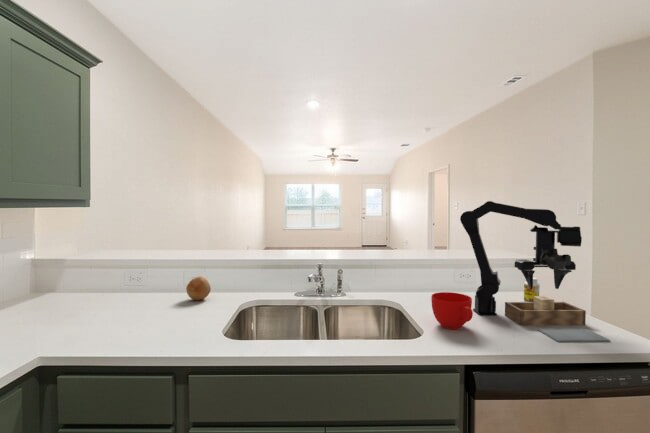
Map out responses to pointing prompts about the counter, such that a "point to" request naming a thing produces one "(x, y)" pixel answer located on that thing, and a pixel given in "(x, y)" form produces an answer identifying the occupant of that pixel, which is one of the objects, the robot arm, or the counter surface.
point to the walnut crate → (544, 314)
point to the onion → (198, 288)
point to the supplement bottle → (531, 291)
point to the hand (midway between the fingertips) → (543, 288)
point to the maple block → (543, 303)
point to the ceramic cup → (451, 309)
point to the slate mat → (573, 335)
